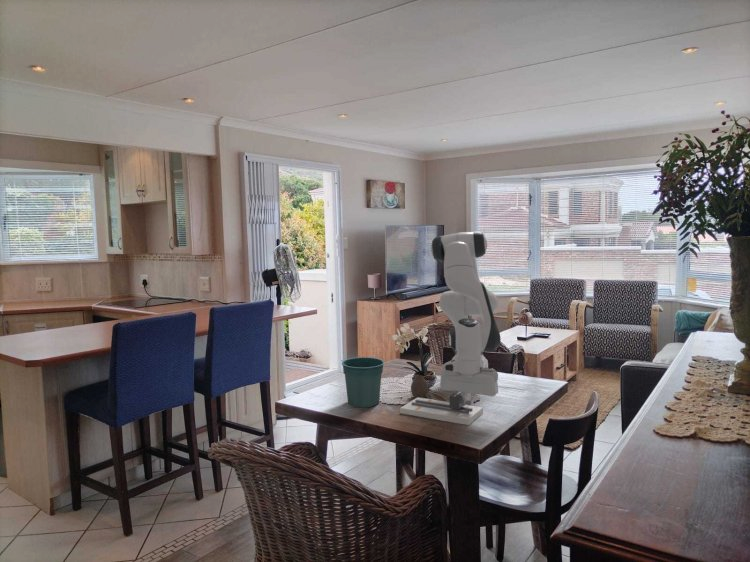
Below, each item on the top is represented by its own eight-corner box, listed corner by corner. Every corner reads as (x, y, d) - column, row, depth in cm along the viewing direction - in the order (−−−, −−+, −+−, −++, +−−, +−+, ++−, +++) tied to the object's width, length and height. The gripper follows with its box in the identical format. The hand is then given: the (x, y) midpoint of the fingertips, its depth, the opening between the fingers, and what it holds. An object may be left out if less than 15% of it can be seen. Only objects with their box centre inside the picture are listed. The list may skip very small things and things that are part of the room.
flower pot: (392, 399, 210) (391, 359, 208) (372, 412, 195) (371, 369, 194) (356, 394, 218) (355, 355, 216) (334, 406, 203) (333, 364, 202)
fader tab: (456, 405, 193) (455, 390, 193) (465, 407, 192) (465, 392, 191) (449, 410, 188) (449, 395, 188) (459, 412, 186) (459, 396, 186)
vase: (427, 400, 208) (427, 378, 207) (409, 399, 209) (409, 377, 209) (429, 395, 215) (429, 373, 214) (412, 394, 216) (411, 373, 215)
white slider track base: (417, 402, 206) (417, 395, 206) (482, 412, 193) (482, 405, 192) (400, 413, 194) (400, 405, 194) (468, 425, 181) (468, 417, 180)
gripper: (500, 367, 184) (500, 406, 185) (445, 361, 194) (445, 398, 196) (495, 371, 179) (495, 412, 180) (438, 365, 189) (438, 403, 190)
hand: (468, 404), depth 188 cm, fingers closed
